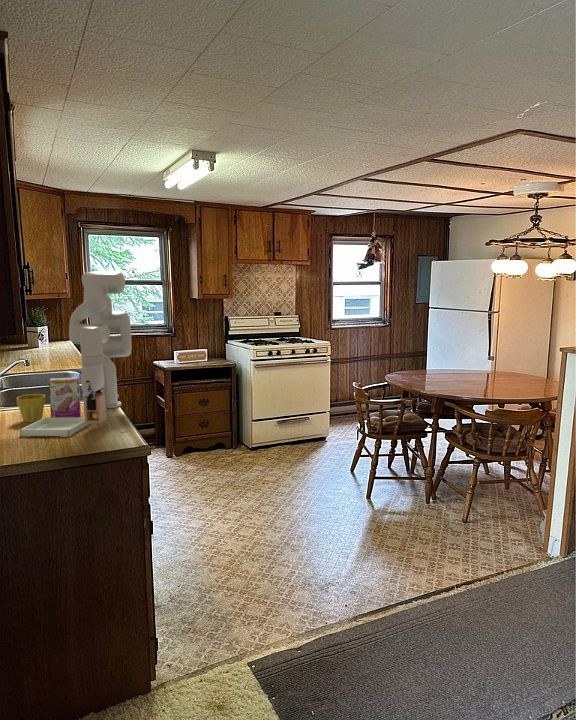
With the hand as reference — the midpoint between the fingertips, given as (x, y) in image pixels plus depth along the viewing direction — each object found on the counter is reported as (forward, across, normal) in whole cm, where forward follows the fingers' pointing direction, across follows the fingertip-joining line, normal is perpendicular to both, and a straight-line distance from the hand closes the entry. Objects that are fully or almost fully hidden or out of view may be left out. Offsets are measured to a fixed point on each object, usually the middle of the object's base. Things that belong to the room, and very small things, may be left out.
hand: (95, 407), depth 193 cm
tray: (+9, +1, -15) cm, 17 cm away
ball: (+3, 0, 0) cm, 3 cm away
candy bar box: (+10, -17, -20) cm, 28 cm away
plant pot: (+10, -13, -32) cm, 35 cm away
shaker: (+5, 0, 0) cm, 5 cm away
